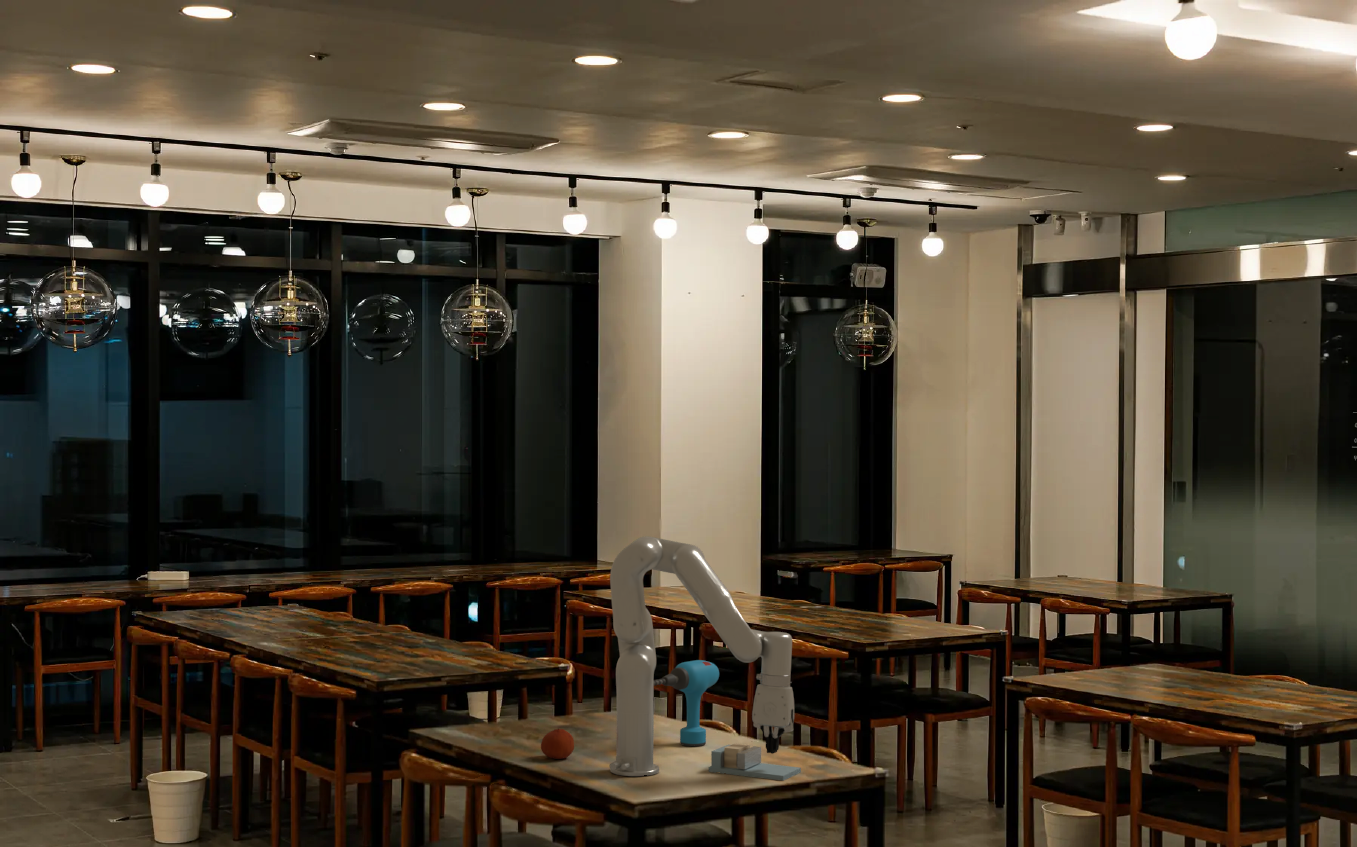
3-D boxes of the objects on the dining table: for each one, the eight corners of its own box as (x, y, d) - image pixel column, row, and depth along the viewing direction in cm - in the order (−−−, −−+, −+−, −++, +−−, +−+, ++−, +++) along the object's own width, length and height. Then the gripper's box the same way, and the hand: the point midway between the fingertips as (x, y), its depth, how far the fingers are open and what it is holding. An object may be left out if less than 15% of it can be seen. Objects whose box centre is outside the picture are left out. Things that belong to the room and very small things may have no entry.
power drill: (660, 756, 427) (660, 670, 427) (636, 752, 432) (637, 666, 433) (726, 741, 448) (727, 659, 448) (703, 737, 454) (703, 655, 454)
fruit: (554, 753, 430) (555, 724, 430) (580, 757, 425) (580, 727, 425) (533, 759, 423) (533, 728, 423) (559, 763, 418) (559, 732, 418)
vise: (783, 780, 399) (783, 759, 399) (708, 771, 409) (708, 751, 409) (800, 772, 409) (800, 751, 409) (727, 763, 419) (727, 743, 419)
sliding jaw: (744, 769, 405) (744, 753, 405) (735, 768, 406) (735, 752, 406) (761, 762, 414) (761, 746, 414) (752, 761, 415) (752, 745, 415)
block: (738, 768, 407) (738, 749, 407) (724, 766, 409) (724, 747, 409) (749, 763, 413) (750, 744, 413) (736, 761, 415) (736, 742, 415)
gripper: (742, 679, 406) (739, 750, 406) (796, 686, 399) (792, 758, 399) (755, 675, 413) (751, 746, 413) (808, 682, 406) (804, 754, 406)
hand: (771, 752), depth 406 cm, fingers closed
